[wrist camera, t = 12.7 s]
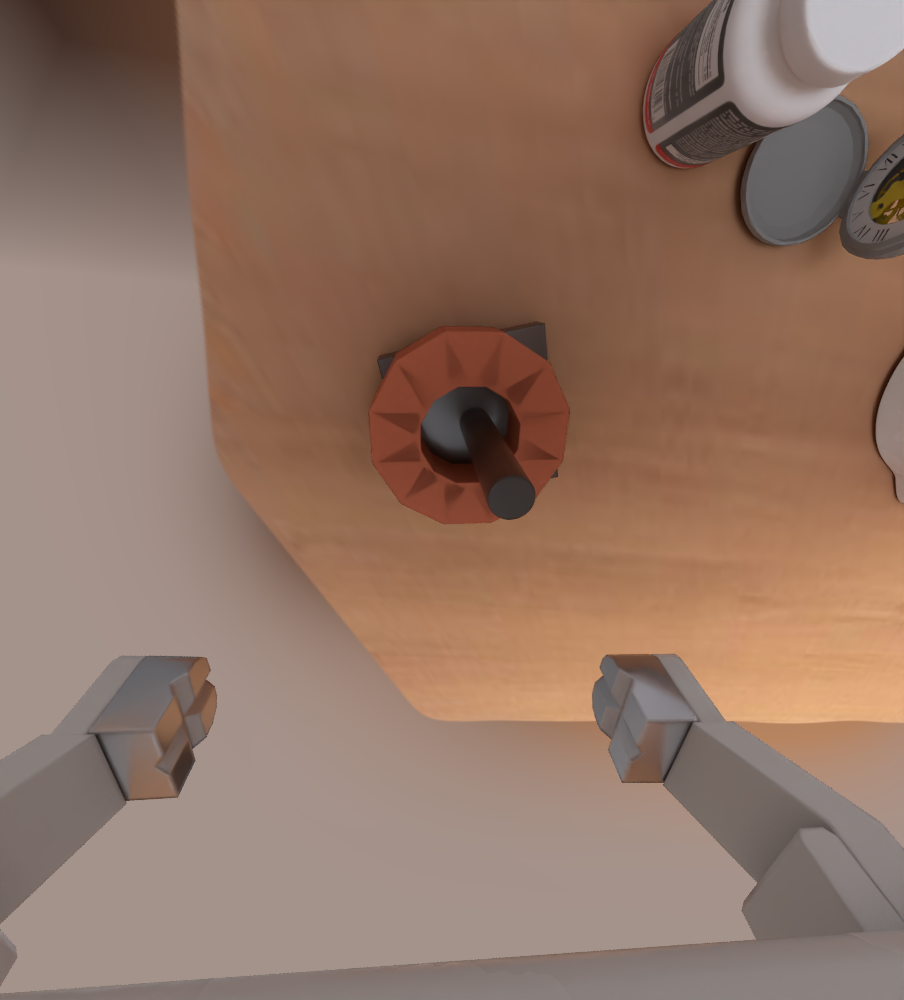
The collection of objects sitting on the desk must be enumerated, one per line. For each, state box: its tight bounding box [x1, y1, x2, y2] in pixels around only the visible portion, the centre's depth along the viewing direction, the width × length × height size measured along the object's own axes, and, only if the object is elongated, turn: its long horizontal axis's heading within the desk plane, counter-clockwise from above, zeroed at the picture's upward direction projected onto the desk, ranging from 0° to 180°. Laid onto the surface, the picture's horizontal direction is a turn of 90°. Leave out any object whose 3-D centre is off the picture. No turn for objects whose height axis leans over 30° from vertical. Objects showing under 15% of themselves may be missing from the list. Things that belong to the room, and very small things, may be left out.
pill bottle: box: [643, 0, 904, 168], centre depth 18 cm, size 6×6×10 cm
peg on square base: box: [377, 322, 558, 520], centre depth 23 cm, size 10×10×12 cm
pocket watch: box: [740, 95, 904, 259], centre depth 20 cm, size 8×8×10 cm
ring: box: [369, 326, 570, 524], centre depth 25 cm, size 11×11×3 cm
